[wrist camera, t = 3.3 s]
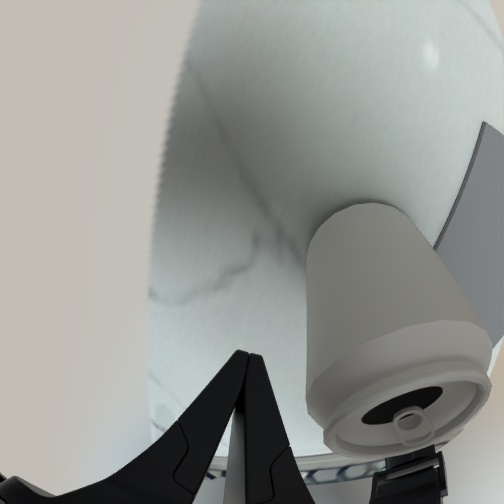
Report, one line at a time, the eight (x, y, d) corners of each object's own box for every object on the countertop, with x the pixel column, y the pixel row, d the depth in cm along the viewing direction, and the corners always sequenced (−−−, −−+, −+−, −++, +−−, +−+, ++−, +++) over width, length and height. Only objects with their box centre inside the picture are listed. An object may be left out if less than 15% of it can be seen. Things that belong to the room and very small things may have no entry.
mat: (470, 369, 22) (472, 372, 21) (366, 356, 22) (366, 360, 21) (572, 202, 11) (575, 204, 11) (483, 121, 12) (486, 122, 11)
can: (385, 173, 15) (510, 316, 4) (431, 265, 17) (505, 415, 7) (281, 240, 18) (255, 427, 7) (341, 316, 20) (354, 476, 10)
